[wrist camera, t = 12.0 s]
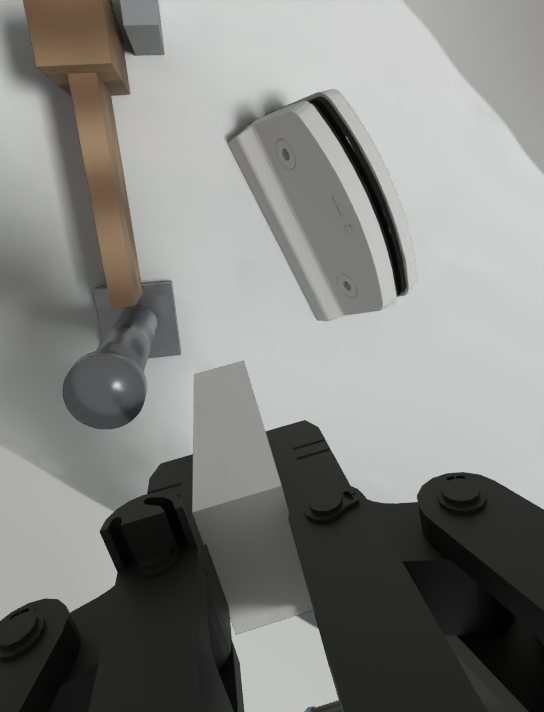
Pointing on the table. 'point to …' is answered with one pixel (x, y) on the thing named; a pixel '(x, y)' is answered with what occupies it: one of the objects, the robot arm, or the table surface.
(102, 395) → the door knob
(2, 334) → the table surface
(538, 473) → the table surface
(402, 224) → the grey arched slab
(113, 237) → the wooden mallet
